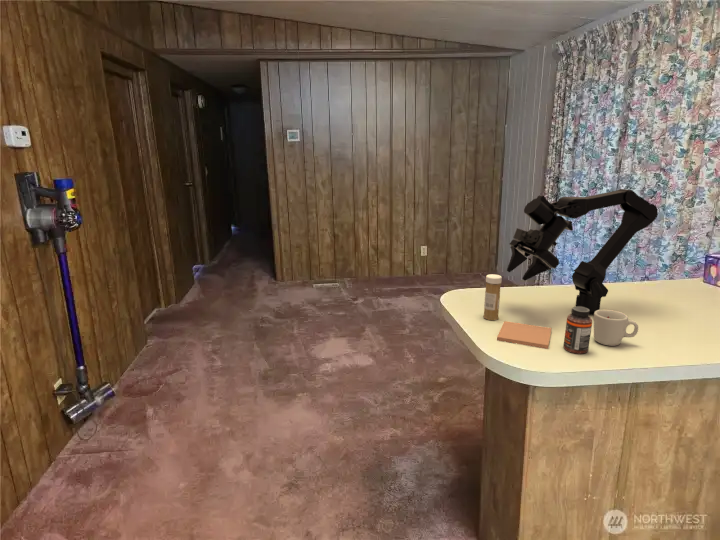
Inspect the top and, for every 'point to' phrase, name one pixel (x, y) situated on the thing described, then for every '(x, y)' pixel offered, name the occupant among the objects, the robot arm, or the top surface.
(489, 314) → the sprinkles bottle
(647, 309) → the top surface
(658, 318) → the top surface
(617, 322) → the cup
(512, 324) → the terracotta tile
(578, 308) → the supplement bottle
